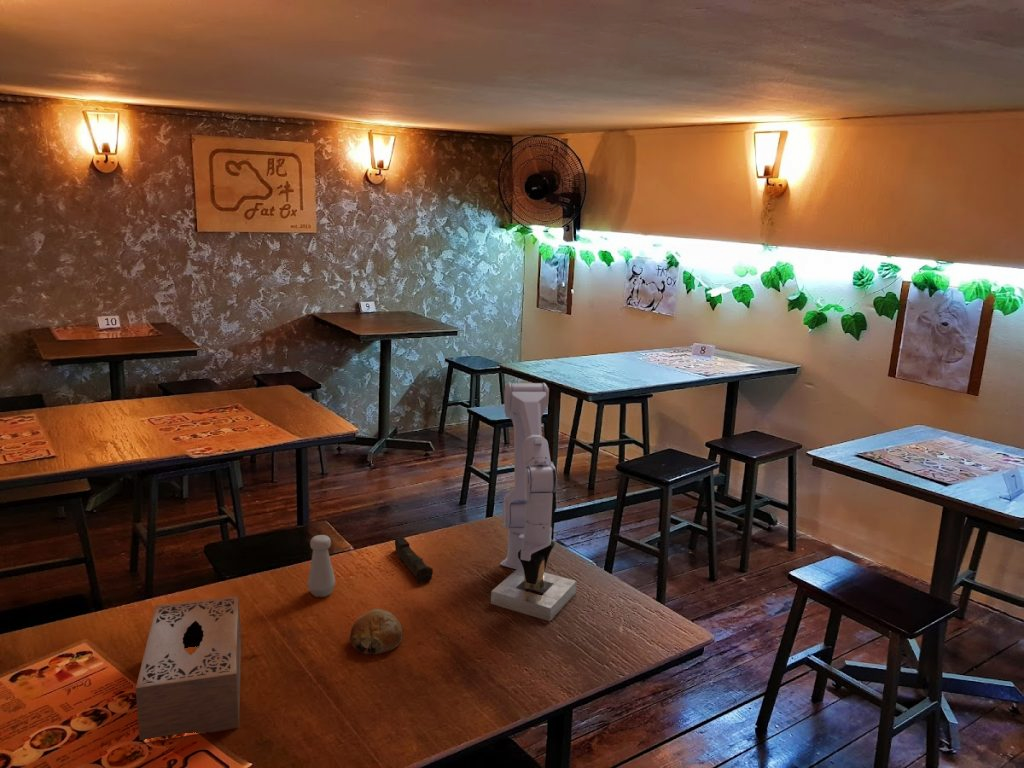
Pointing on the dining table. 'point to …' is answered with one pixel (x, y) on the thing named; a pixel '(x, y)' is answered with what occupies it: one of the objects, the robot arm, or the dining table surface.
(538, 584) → the cylinder
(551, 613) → the square stone frame
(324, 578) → the salt shaker
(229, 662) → the tissue box cover
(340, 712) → the dining table surface
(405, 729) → the dining table surface
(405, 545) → the hand tool
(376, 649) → the bread roll
